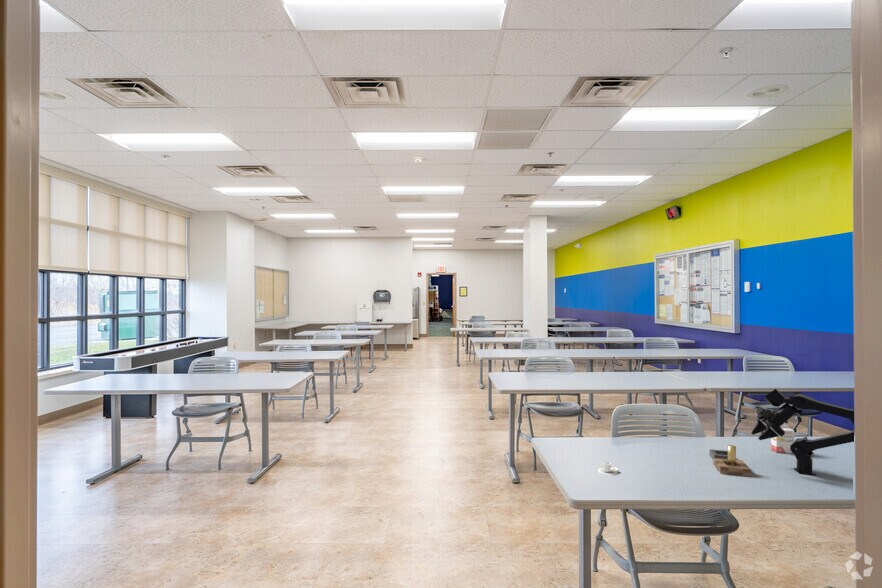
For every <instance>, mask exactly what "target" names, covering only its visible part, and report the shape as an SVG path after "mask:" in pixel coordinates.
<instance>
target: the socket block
mask: <svg viewBox="0 0 882 588" xmlns="http://www.w3.org/2000/svg"><path fill="white" fill-rule="evenodd" d="M709 456H710V457H711V459H712V460H713V458H720V459H728V450H724V449H723V450H722V449H721V450H720V449H711V448H710V449H709Z"/></svg>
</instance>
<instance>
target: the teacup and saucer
mask: <svg viewBox="0 0 882 588" xmlns="http://www.w3.org/2000/svg"><path fill="white" fill-rule="evenodd" d="M602 466H603V467H602ZM611 466H612V463H611V462H607V461H606V462H603V463H601V464H600V468H598V470H597V471H598V473H600V474H603V475H608V476H609V475H610V476H611V475H612V476H613V475H616V474H617V473H618V472H620V469H619V468H618V467H611ZM602 470H603V471H604V472H605V473H604V472H603V471H602Z"/></svg>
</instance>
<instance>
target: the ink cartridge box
mask: <svg viewBox="0 0 882 588" xmlns="http://www.w3.org/2000/svg"><path fill="white" fill-rule="evenodd" d="M789 425H790V423H789V421H788V423H787V424H786V423H784V424H783V425H781V426H780V427H781V428H782V429H783V430H784V431H785V434H784V435H783V436H782V437H781V436H779V435H778V436H779V437H773V438H770V440H771V441H770V442H771V443H770V446H771V447H770V450H771V451H773V452H775V453H780V454H793V453H792V451H791V449H790V446H791V444H792V443H793V442H794V441H795V430H794V429H792V428H789Z"/></svg>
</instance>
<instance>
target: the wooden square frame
mask: <svg viewBox="0 0 882 588" xmlns="http://www.w3.org/2000/svg"><path fill="white" fill-rule="evenodd" d="M712 464H713V466H714V467H715V468H716V469H717V471H718V472H719V473H720V474H723V475H724V474H725V475H733V476H741V477H752V469H751V468H750V466H748V465H747V463H745V462H744V461H743V460H742V459H741V460H740V459H736V466H732V465H728V459H720V458H713V459H712Z"/></svg>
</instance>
